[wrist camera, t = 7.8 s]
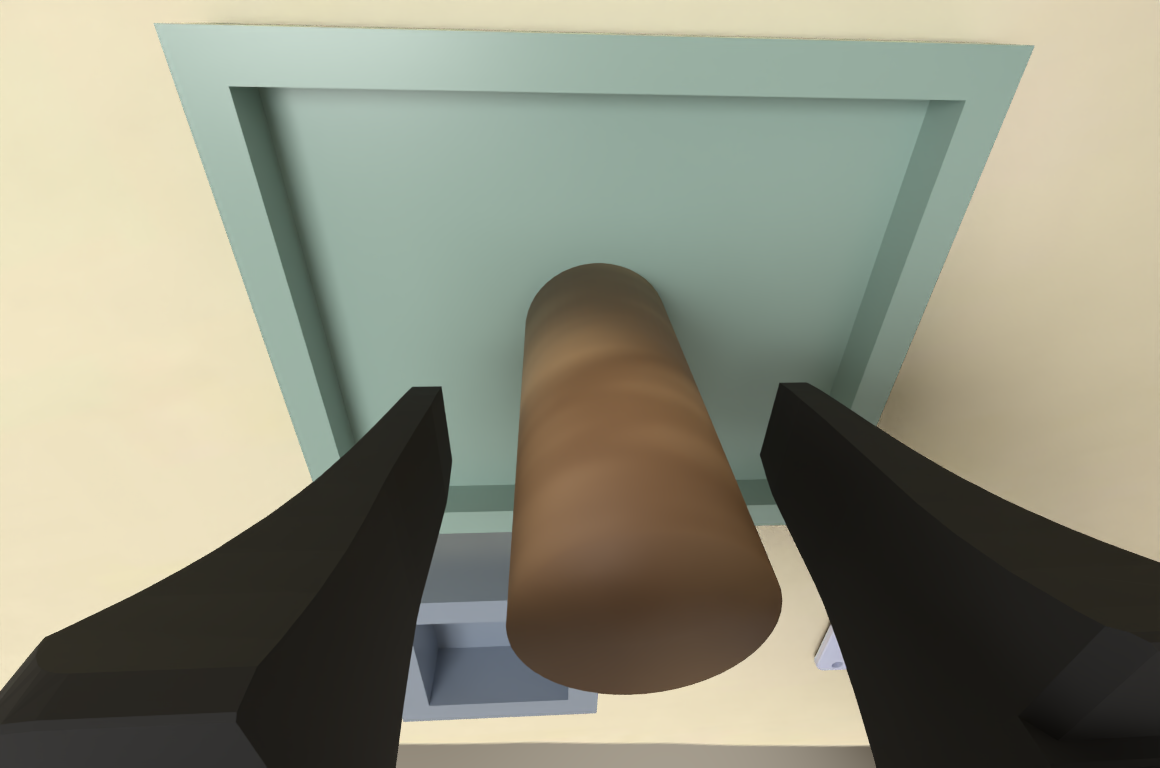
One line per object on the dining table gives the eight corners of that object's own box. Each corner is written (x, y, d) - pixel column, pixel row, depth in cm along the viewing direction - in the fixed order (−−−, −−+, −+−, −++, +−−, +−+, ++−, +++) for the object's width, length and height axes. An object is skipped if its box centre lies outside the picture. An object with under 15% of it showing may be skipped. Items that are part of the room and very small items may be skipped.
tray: (975, 42, 12) (1034, 45, 11) (814, 486, 20) (835, 523, 19) (205, 23, 11) (153, 23, 10) (348, 496, 19) (331, 536, 18)
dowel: (676, 265, 14) (817, 530, 7) (656, 389, 17) (747, 691, 9) (525, 260, 14) (502, 532, 7) (525, 387, 16) (508, 697, 9)
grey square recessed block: (598, 528, 21) (605, 597, 18) (591, 644, 25) (596, 713, 23) (387, 533, 20) (364, 605, 18) (417, 651, 25) (403, 721, 22)
